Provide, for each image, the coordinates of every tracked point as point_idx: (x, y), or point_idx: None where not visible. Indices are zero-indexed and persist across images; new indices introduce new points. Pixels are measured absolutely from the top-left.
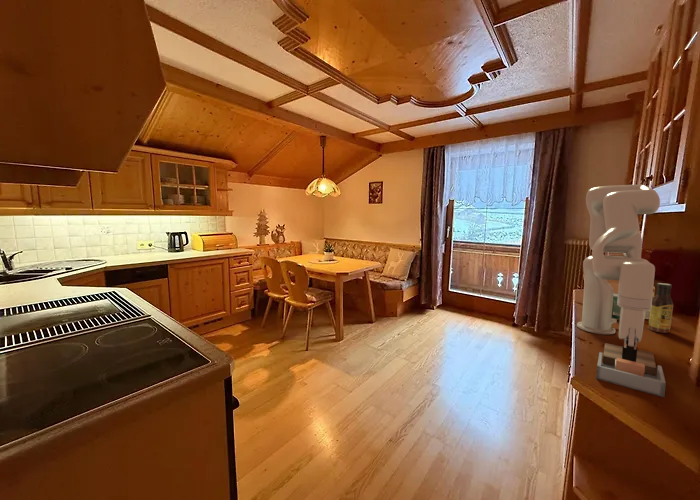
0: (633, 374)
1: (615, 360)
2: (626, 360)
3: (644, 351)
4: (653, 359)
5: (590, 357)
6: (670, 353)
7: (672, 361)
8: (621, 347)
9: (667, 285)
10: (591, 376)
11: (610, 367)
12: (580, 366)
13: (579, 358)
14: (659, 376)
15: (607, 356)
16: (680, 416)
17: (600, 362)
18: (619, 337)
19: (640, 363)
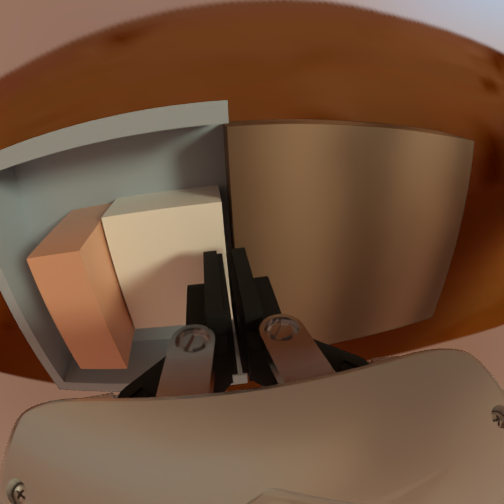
0: (19, 313)
1: (195, 206)
2: (86, 304)
3: (435, 296)
4: (357, 336)
5: (300, 55)
6: (479, 311)
7: (431, 328)
8: (450, 215)
9: None
10: (13, 125)
11: (183, 168)
12: (94, 40)
13: (228, 5)
14: (125, 376)
15: (237, 153)
16: (13, 361)
17: (10, 161)
18: (19, 417)
19: (116, 356)
